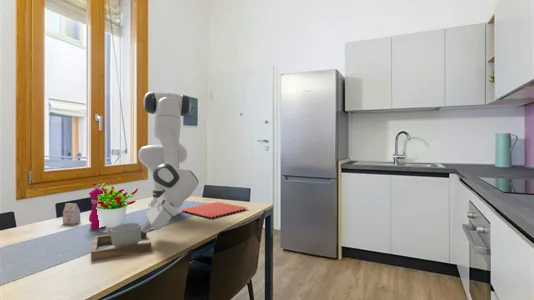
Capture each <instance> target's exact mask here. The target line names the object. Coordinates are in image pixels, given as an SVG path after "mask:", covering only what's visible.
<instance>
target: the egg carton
mask: <svg viewBox="0 0 534 300" xmlns="http://www.w3.org/2000/svg"><path fill="white" fill-rule="evenodd" d="M246 209H247V210H249V209H248V207H247V206H246V207H245V206H241V205H235V204H232V203H231V204H230V203H224V202H219V201H215V202H210V203H205V204H202V205H201V204H199V205H195V206H191V207H188V208H187V207H186V208H182V209H181V208H180V211H182V213H186V214H189V215H192V216H194V215H195V216H196V217H197V216H198V217H200V216H201V217H203V218H207V219H210V220H212V219H216V217H217V219H218V218H220V216H221V217H223V216H227V214H228V215H230V214H231V215H233V214H234V213H235V214H236V213H238V212H239V213H240V212H241V211H243V210H246ZM186 211H187V212H186ZM209 217H210V218H209Z"/></svg>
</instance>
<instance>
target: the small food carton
mask: <svg viewBox="0 0 534 300" xmlns="http://www.w3.org/2000/svg"><path fill="white" fill-rule="evenodd" d="M79 222H80V223H81V210H80V208H79V206H78V203H70V202H69V203H66V202H65V204H64V207H63V211H62V224H63V223H67V224H66V225H73V224H75V225H77V224H76V223H78V224H80V223H79Z"/></svg>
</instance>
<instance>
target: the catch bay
mask: <svg viewBox="0 0 534 300" xmlns="http://www.w3.org/2000/svg"><path fill="white" fill-rule="evenodd" d="M147 232H148V231H147ZM147 232H146V233H144V232H142V230H141V239H146V238H147V236H148V235H147V234H148V233H147ZM106 244H112V240H111V237H110V236H109V234H103V235H95V236H93V239H92V244H91V251H90V260H91V262H93V261H98V260H102V259H110V258H117V257H122V256H128V255H129V256H130V255H134V254H141V253H147V252H152V251H153V250H152V241H146V242H142V243H140V242H139V243H138V244H133V245H126V246H119V247H115V246H112V247H108V248H107V247H106V248H99V246H100V245H106Z"/></svg>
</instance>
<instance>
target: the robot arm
mask: <svg viewBox="0 0 534 300" xmlns="http://www.w3.org/2000/svg"><path fill="white" fill-rule="evenodd" d="M142 105H143V108H144V111H146V113H149V114H151V115H154V122H153V123H154V124H153V125H154V127H153V129H154V130H153V134H154V136H155V138H156V139H157V140H159V142H160V144H150V145H145V146H143V145H142V146H141V148H139V150H138V154H137V157H138V160H139V162H140V164H141V165H143V166H145V167H146V168H147V169H148V170H149V172H150V174H151V177H152V184H153V187H152V188H153V189H152V199H150V201H149V202H148V210H147V212H146V213H145V216H146V218H147V219H146V221H145V223H144V225H142V226H141V230H142V232H144V233H146V232H148V231H149V230H151V228H154V229H155V230H157V231H159V230H160V229H162V228H163V227H164V226H165V225H166V224H167V223H168V222H169V221H170V220H171V218H173V217H175V216H177V215H179V214H182V213H183V212H182V210H181V209H180V208H181V207H182V205H183V203H184V201H186V200H187V199H189V198H190V196H191V195H192V194H193V193H194V192H195V191H196V189H197V187H198V186H199V184H200V183H199V179H198V178H197V175H196V174H195V173H194V172H193V171H192V170H190V169H183V168H180V164H182V163H184V162H185V161H186V160H187V158H188V150H187V149H186V147H185V146H183V145H182V144H181V143H180V137H181V124H182V119H181V118H182V117H185V116H187V115H189V113H190V112H191V109H192V103H191V100H190V98H189V96H188V95H185V94H178V93H172V92H155V91H149V92H147V93H146V94H145V96H144V97H143V101H142Z"/></svg>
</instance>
